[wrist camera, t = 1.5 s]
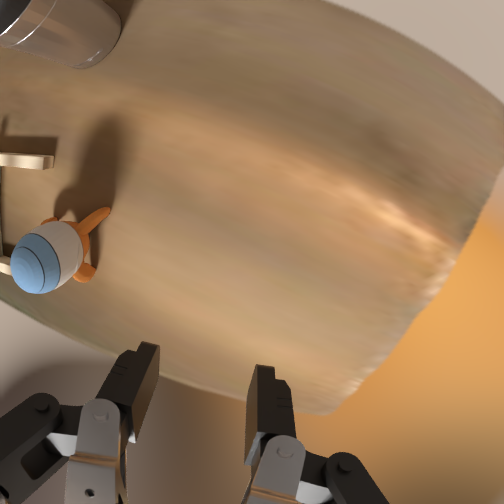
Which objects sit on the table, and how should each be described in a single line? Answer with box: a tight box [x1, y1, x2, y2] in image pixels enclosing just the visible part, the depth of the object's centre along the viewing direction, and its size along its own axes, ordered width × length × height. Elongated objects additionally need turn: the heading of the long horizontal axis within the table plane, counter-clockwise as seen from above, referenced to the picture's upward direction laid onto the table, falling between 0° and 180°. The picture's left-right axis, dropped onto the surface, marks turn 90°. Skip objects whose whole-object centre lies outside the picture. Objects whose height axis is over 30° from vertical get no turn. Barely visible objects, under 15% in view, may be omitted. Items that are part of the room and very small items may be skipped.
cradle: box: [0, 152, 54, 276], centre depth 33 cm, size 13×18×5 cm
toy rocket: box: [10, 207, 110, 294], centre depth 30 cm, size 10×11×15 cm
